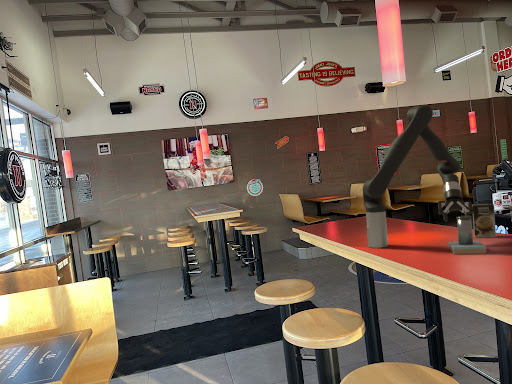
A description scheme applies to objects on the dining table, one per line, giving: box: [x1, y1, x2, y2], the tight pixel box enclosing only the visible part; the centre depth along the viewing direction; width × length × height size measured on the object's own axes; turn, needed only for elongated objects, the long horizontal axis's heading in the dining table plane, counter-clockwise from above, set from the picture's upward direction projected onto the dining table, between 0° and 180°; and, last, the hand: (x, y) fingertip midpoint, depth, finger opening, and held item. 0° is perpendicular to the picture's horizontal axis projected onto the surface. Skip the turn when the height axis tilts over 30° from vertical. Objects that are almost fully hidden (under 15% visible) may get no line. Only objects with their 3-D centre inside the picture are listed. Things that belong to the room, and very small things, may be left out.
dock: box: [448, 240, 487, 255], centre depth 160 cm, size 12×12×3 cm
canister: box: [456, 215, 474, 245], centre depth 160 cm, size 6×6×12 cm
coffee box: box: [472, 203, 497, 239], centre depth 186 cm, size 9×6×16 cm
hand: (457, 220), depth 171 cm, fingers open, 8 cm apart
